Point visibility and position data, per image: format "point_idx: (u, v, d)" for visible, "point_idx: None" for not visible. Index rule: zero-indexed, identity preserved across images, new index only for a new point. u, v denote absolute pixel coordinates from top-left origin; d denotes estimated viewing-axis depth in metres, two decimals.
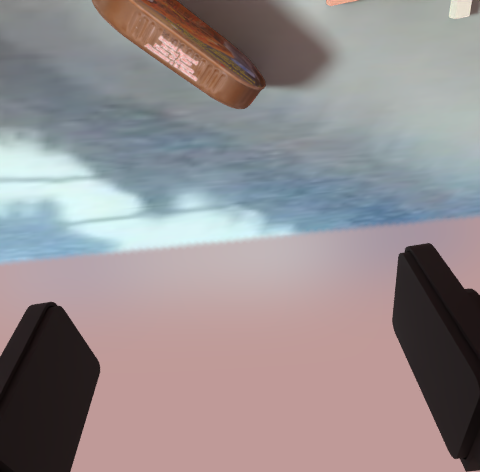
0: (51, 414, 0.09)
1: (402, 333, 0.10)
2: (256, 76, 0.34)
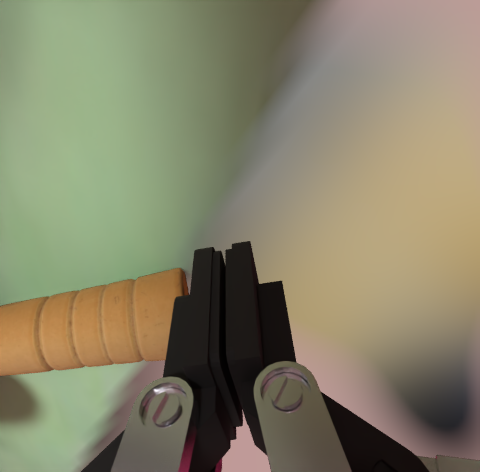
0: None
1: None
2: None
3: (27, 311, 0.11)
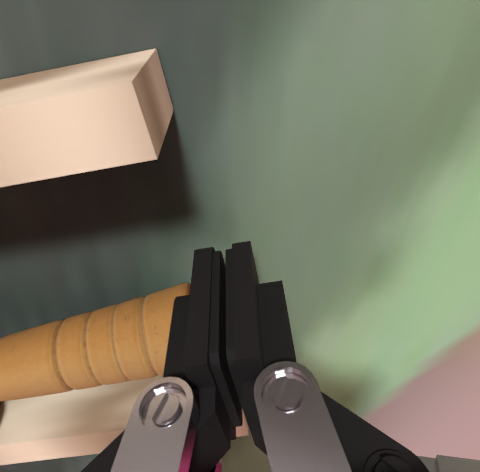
0: None
1: None
2: None
3: (44, 335, 0.12)
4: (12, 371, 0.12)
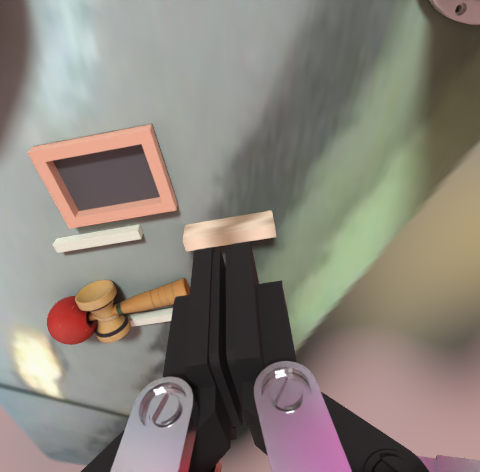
0: None
1: None
2: None
3: (147, 293, 0.47)
4: (141, 302, 0.46)
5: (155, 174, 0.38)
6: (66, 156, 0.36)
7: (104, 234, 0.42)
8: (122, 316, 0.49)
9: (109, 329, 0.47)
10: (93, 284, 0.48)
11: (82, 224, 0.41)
